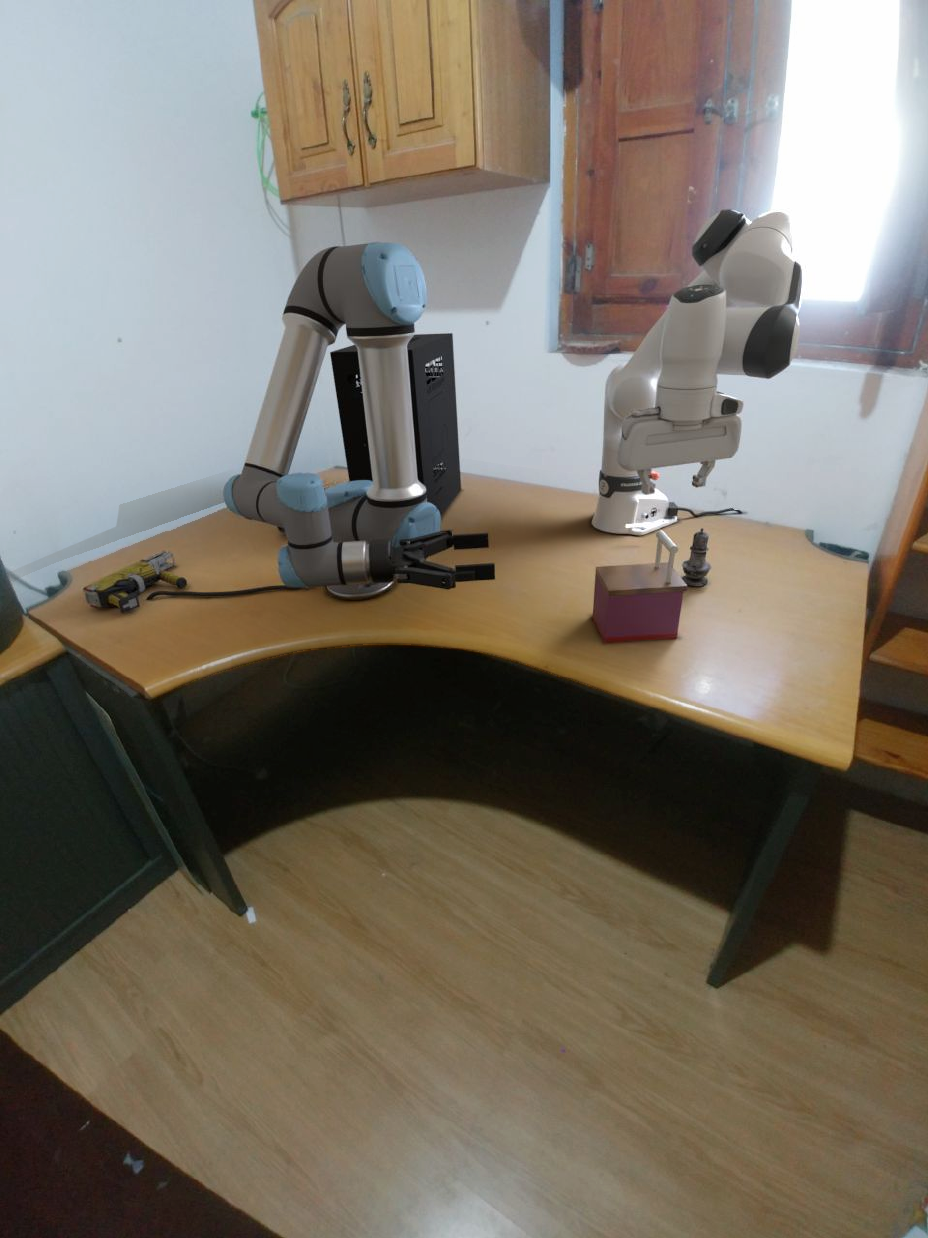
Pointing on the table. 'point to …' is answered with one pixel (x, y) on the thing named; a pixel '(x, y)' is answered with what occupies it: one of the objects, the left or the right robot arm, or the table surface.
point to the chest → (636, 615)
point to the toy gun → (131, 583)
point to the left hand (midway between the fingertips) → (491, 554)
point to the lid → (644, 574)
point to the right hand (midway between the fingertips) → (673, 489)
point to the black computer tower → (429, 412)
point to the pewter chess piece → (697, 561)
